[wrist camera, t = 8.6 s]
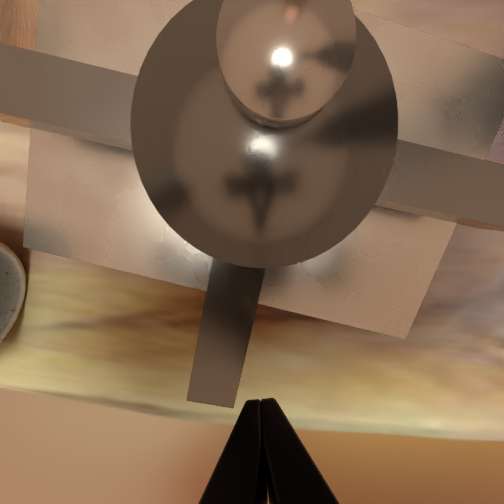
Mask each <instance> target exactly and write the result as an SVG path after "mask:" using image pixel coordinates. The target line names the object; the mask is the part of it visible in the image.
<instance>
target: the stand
mask: <svg viewBox="0 0 504 504" xmlns="http://www.w3.org/2000/svg"><path fill="white" fill-rule="evenodd" d="M191 1H193V0H0V43H4V44H8V45H12V46H16V47H20V48H24V49H29V50H33V51H37V52H41V53H45V54H49V55H53V56H57V57H62V58H66V59H70V60H74V61H78V62H82V63H86V64H90V65H95V66H99V67H103V68H107V69H111V70H115V71H119V72H123V73H128V74H132V75H136V76H138V74H139V71H140V68H141V66H142V64H143V61H144V59H145V57H146V54H147V52H148V50H149V49H150V47H151V45H152V44H153V42H154V41H155V39H156V37H157V36H158V34H159V33H160V32H161V30H162V29H163V28H164V27H165V26H166V24H167V23H168V22H169V21H170V19H171V18H172V17H173V16H175V15H176V14H177V13H178V12H179V11H180V10H181V9H182V8H183V7H184V6H185V5H187V4H188V3H190V2H191ZM353 11H354V14H355V16H356V17H357V18H358V19H359V20H360V21H361V22H362V23H363V24H364V25H365V26H366V28H367V29H368V31H369V32H370V33H371V35H372V36H373V37H374V39H375V40H376V42H377V44H378V46H379V48H380V50H381V51H382V53H383V55H384V57H385V59H386V62H387V65H388V67H389V70H390V73H391V75H392V79H393V83H394V88H395V92H396V97H397V107H398V137H397V139H400V140H404V141H408V142H412V143H416V144H420V145H424V146H428V147H433V148H437V149H441V150H445V151H449V152H453V153H457V154H461V155H466V156H470V157H474V158H478V159H482V160H485V158H486V156H487V154H488V152H489V149H490V147H491V145H492V143H493V140H494V138H495V136H496V133H497V131H498V129H499V127H500V124H501V122H502V120H503V118H504V59H501V58H499V57H496V56H493V55H490V54H487V53H484V52H481V51H478V50H475V49H472V48H469V47H466V46H463V45H460V44H457V43H454V42H451V41H448V40H445V39H442V38H439V37H436V36H434V35H431V34H428V33H425V32H422V31H419V30H416V29H413V28H410V27H407V26H404V25H401V24H398V23H395V22H392V21H389V20H386V19H383V18H380V17H377V16H374V15H371V14H369V13H366V12H363V11H360V10H357V9H354V8H353ZM456 224H457V223H453V222H449V221H445V220H440V219H436V218H431V217H427V216H422V215H418V214H413V213H409V212H404V211H400V210H395V209H391V208H387V207H382V206H378V205H374V206H373V208H372V209H371V211H370V212H369V213H368V215H367V216H366V217H365V219H364V220H363V221H362V222H361V223H360V224H359V225H358V227H357V228H356V229H355V230H354V231H353V232H351V233H350V234H349V235H348V236H347V237H346V238H345V239H344V240H342V241H341V242H340V243H338V244H337V245H335V246H334V247H332V248H331V249H330V250H328V251H326V252H324V253H322V254H320V255H318V256H316V257H314V258H311V259H309V260H306V261H304V262H301V263H297V264H293V265H289V266H285V267H276V268H266V270H265V274H264V279H263V283H262V287H261V291H260V296H259V300H258V304H261V305H266V306H270V307H274V308H278V309H282V310H286V311H290V312H295V313H299V314H303V315H307V316H311V317H315V318H320V319H324V320H328V321H332V322H336V323H340V324H344V325H349V326H353V327H357V328H361V329H365V330H369V331H373V332H378V333H382V334H386V335H390V336H394V337H398V338H402V339H406V337H407V335H408V333H409V331H410V328H411V326H412V324H413V322H414V319H415V317H416V315H417V312H418V310H419V308H420V306H421V303H422V301H423V299H424V297H425V294H426V292H427V290H428V288H429V285H430V283H431V281H432V278H433V276H434V274H435V272H436V269H437V267H438V265H439V263H440V260H441V258H442V256H443V254H444V251H445V249H446V247H447V245H448V242H449V240H450V238H451V235H452V233H453V231H454V229H455V226H456ZM23 247H25V248H29V249H33V250H37V251H41V252H46V253H50V254H54V255H58V256H62V257H66V258H71V259H75V260H79V261H83V262H87V263H91V264H95V265H100V266H104V267H108V268H112V269H116V270H120V271H124V272H129V273H133V274H137V275H141V276H145V277H149V278H154V279H158V280H162V281H166V282H170V283H174V284H178V285H183V286H187V287H191V288H195V289H199V290H203V291H207V287H208V281H209V276H210V271H211V265H212V260H213V257H211V256H208V255H207V254H205V253H203V252H201V251H200V250H198V249H196V248H194V247H193V246H192V245H190V244H189V243H188V242H186V241H185V240H184V239H182V238H181V237H180V236H179V235H178V234H177V233H176V232H175V231H174V230H173V229H172V228H171V227H170V226H169V225H168V224H167V223H166V222H165V220H164V219H163V218H162V217H161V215H160V214H159V213H158V211H157V210H156V208H155V207H154V205H153V204H152V202H151V200H150V199H149V197H148V195H147V193H146V191H145V188H144V186H143V184H142V182H141V179H140V176H139V173H138V170H137V167H136V164H135V159H134V154H133V151H132V150H128V149H123V148H119V147H114V146H110V145H105V144H101V143H97V142H92V141H88V140H83V139H79V138H74V137H70V136H65V135H61V134H56V133H52V132H47V131H43V130H39V129H34V128H31V133H30V148H29V163H28V178H27V193H26V208H25V223H24V238H23Z"/></svg>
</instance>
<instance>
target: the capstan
mask: <svg viewBox="0 0 504 504" xmlns="http://www.w3.org/2000/svg"><path fill="white" fill-rule="evenodd" d="M0 121H3V122H7V123H12V124H16V125H21V126H25V127H30V128H34V129H39V130H43V131H47V132H52V133H56V134H61V135H65V136H70V137H74V138H79V139H83V140H88V141H92V142H97V143H101V144H105V145H110V146H114V147H119V148H123V149H128V150H132V151H133V154H134V159H135V164H136V167H137V170H138V173H139V176H140V179H141V182H142V184H143V186H144V188H145V191H146V193H147V195H148V197H149V199H150V200H151V202H152V204H153V205H154V207H155V208H156V210H157V211H158V213H159V214H160V215H161V217H162V218H163V219H164V220H165V222H166V223H167V224H168V225H169V226H170V227H171V228H172V229H173V230H174V231H175V232H176V233H177V234H178V235H179V236H180V237H181V238H182V239H184V240H185V241H186V242H188V243H189V244H190V245H192V246H193V247H194V248H196V249H198V250H200V251H201V252H203V253H205V254H207V255H208V256H211V257H213V260H212V265H211V271H210V276H209V281H208V287H207V292H206V298H205V303H204V309H203V314H202V320H201V325H200V331H199V336H198V341H197V347H196V352H195V358H194V363H193V369H192V374H191V380H190V385H189V390H188V396H187V401H192V402H198V403H204V404H210V405H216V406H222V407H229V408H233V407H234V403H235V399H236V394H237V390H238V386H239V381H240V377H241V373H242V369H243V364H244V360H245V356H246V351H247V347H248V343H249V339H250V334H251V330H252V326H253V321H254V317H255V313H256V309H257V304H258V300H259V296H260V291H261V287H262V283H263V279H264V274H265V270H266V268H276V267H285V266H289V265H293V264H297V263H301V262H304V261H306V260H309V259H311V258H314V257H316V256H318V255H320V254H322V253H324V252H326V251H328V250H330V249H331V248H332V247H334V246H335V245H337V244H338V243H340V242H341V241H342V240H344V239H345V238H346V237H347V236H348V235H349V234H350V233H351V232H353V231H354V230H355V229H356V228H357V227H358V225H359V224H360V223H361V222H362V221H363V220H364V219H365V217H366V216H367V215H368V213H369V212H370V211H371V209H372V208H373V206H374V205H378V206H382V207H387V208H391V209H395V210H400V211H404V212H409V213H413V214H418V215H422V216H427V217H431V218H436V219H440V220H445V221H449V222H453V223H458V224H462V225H467V226H471V227H476V228H480V229H489V230H497V231H504V165H503V164H498V163H494V162H490V161H486V160H482V159H478V158H474V157H470V156H466V155H461V154H457V153H453V152H449V151H445V150H441V149H437V148H433V147H428V146H424V145H420V144H416V143H412V142H408V141H404V140H400V139H397V137H398V107H397V97H396V92H395V88H394V83H393V79H392V75H391V73H390V70H389V67H388V65H387V62H386V59H385V57H384V55H383V53H382V51H381V50H380V48H379V46H378V44H377V42H376V40H375V39H374V37H373V36H372V35H371V33H370V32H369V31H368V29H367V28H366V26H365V25H364V24H363V23H362V22H361V21H360V20H359V19H358V18H357V17H356V16H355V14H354V11H353V8H352V4H351V2H350V0H193V1H191V2H190V3H188V4H187V5H185V6H184V7H183V8H182V9H181V10H180V11H179V12H178V13H177V14H176V15H175V16H173V17H172V18H171V19H170V21H169V22H168V23H167V24H166V26H165V27H164V28H163V29H162V30H161V32H160V33H159V34H158V36H157V37H156V39H155V41H154V42H153V44H152V45H151V47H150V49H149V50H148V52H147V54H146V57H145V59H144V61H143V64H142V66H141V68H140V71H139V74H138V76H136V75H132V74H128V73H123V72H119V71H115V70H111V69H107V68H103V67H99V66H95V65H90V64H86V63H82V62H78V61H74V60H70V59H66V58H62V57H57V56H53V55H49V54H45V53H41V52H37V51H33V50H29V49H24V48H20V47H16V46H12V45H8V44H4V43H0Z"/></svg>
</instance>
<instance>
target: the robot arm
mask: <svg viewBox="0 0 504 504" xmlns="http://www.w3.org/2000/svg"><path fill="white" fill-rule="evenodd" d="M267 487H268V489H267ZM268 497H269V504H339V502H338V500H337V499H336V497H335V496H334V494H333V492H332V491H331V489H330V487H329V486H328V484H327V482H326V481H325V479H324V478H323V476H322V474H321V473H320V471H319V469H318V468H317V466H316V465H315V463H314V461H313V460H312V458H311V456H310V455H309V453H308V452H307V450H306V448H305V447H304V445H303V444H302V442H301V440H300V439H299V437H298V436H297V434H296V432H295V430H294V429H293V427H292V425H291V424H290V422H289V421H288V419H287V417H286V416H285V414H284V412H283V411H282V409H281V408H280V406H279V404H278V403H277V401H276V400H275V399H274V398H266V399H262V400H261V402H260V400H259V399H255V400H247V401H246V402H245V404H244V406H243V409H242V411H241V413H240V415H239V417H238V419H237V422H236V424H235V426H234V428H233V430H232V432H231V434H230V437H229V439H228V441H227V443H226V445H225V447H224V450H223V452H222V454H221V456H220V458H219V461H218V463H217V465H216V467H215V469H214V471H213V473H212V475H211V478H210V480H209V482H208V484H207V486H206V488H205V491H204V493H203V495H202V497H201V499H200V501H199V504H268Z"/></svg>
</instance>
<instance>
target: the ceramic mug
mask: <svg viewBox="0 0 504 504" xmlns="http://www.w3.org/2000/svg"><path fill="white" fill-rule="evenodd" d="M25 293H26V274H25V270H24V267H23V265H22V263H21V261H20V260H19V258H18V257H17V255H16V254H15V253H14V252H13V251H12V250H11V249H10V248H9V247H7V246H6V245H5V244H3V243H1V242H0V343H1V342H2V341H3V339H4V338H5V336H6V335H7V333H8V332H9V331H10V329H11V328H12V326H13V325H14V323H15V321H16V319H17V317H18V314H19V312H20V310H21V308H22V305H23V301H24V297H25Z"/></svg>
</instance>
